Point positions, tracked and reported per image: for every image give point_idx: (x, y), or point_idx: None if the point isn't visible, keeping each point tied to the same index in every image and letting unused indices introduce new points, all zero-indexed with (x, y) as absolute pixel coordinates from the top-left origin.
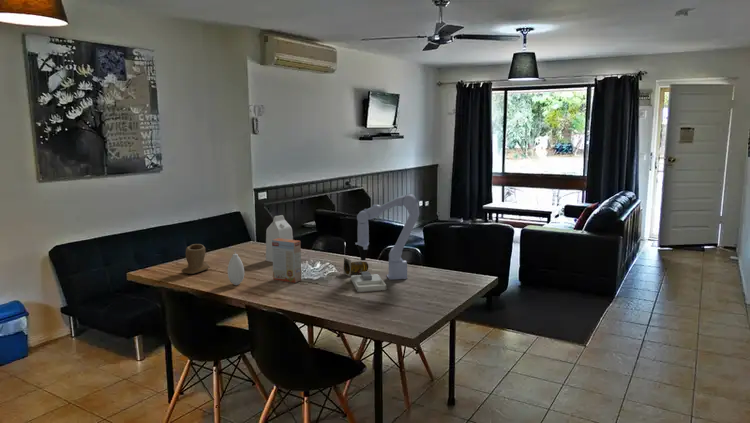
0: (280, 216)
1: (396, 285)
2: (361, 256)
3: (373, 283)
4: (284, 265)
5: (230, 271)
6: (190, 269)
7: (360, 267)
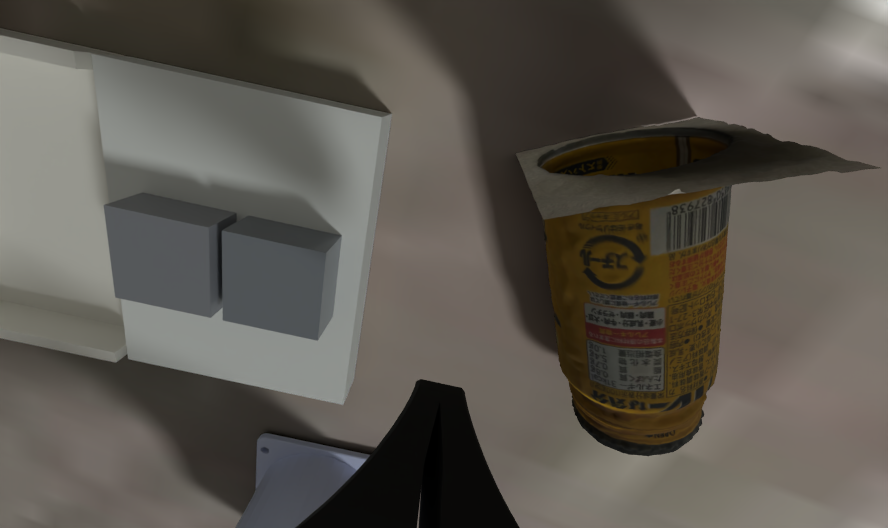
0: None
1: (109, 413)
2: (398, 434)
3: None
4: None
5: None
6: None
7: (560, 328)
